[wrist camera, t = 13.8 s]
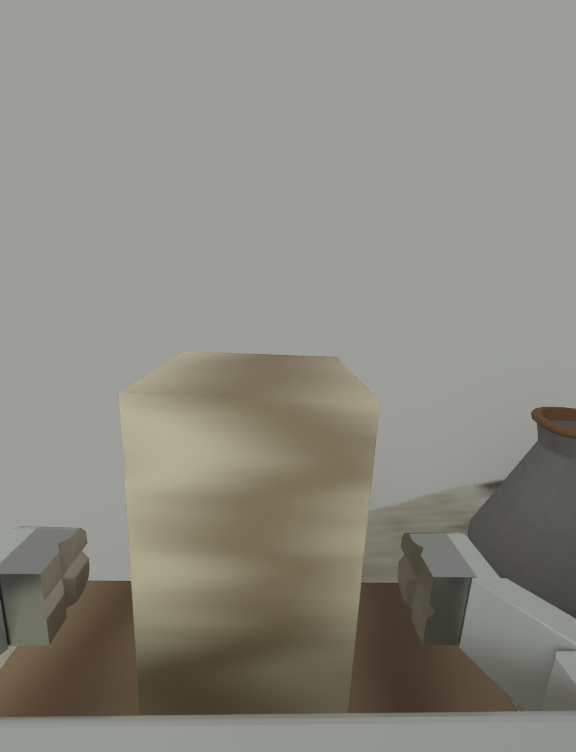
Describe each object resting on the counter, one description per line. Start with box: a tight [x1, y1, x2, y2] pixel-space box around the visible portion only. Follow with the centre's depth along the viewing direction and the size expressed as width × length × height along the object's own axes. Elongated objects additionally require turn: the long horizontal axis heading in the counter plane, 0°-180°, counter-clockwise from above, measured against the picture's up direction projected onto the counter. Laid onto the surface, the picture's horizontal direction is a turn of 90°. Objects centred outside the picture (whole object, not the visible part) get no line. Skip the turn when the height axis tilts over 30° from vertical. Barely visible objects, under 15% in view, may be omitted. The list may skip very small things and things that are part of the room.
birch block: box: [119, 352, 380, 715], centre depth 11 cm, size 5×5×13 cm
